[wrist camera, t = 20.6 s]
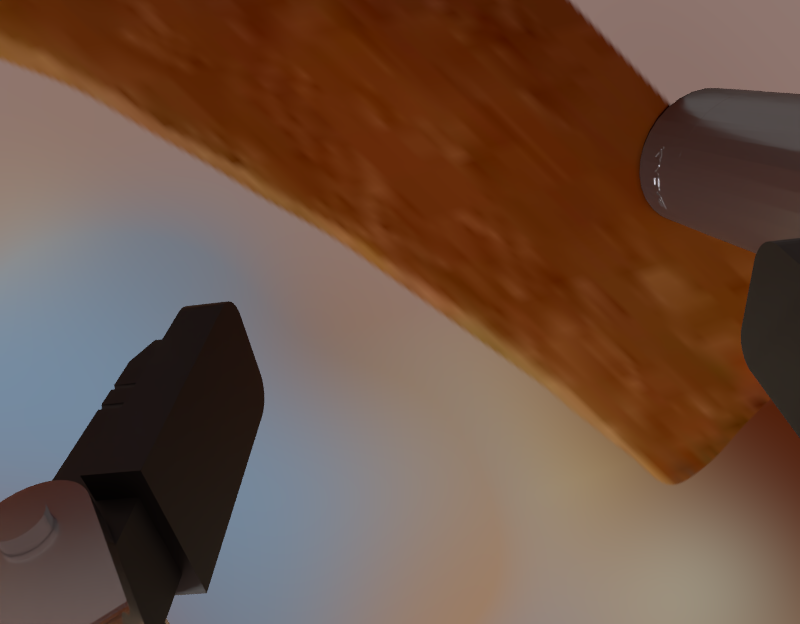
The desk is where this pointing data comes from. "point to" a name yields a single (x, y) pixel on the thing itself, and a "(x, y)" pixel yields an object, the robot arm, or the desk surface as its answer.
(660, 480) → the desk surface
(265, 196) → the desk surface
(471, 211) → the desk surface
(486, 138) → the desk surface
